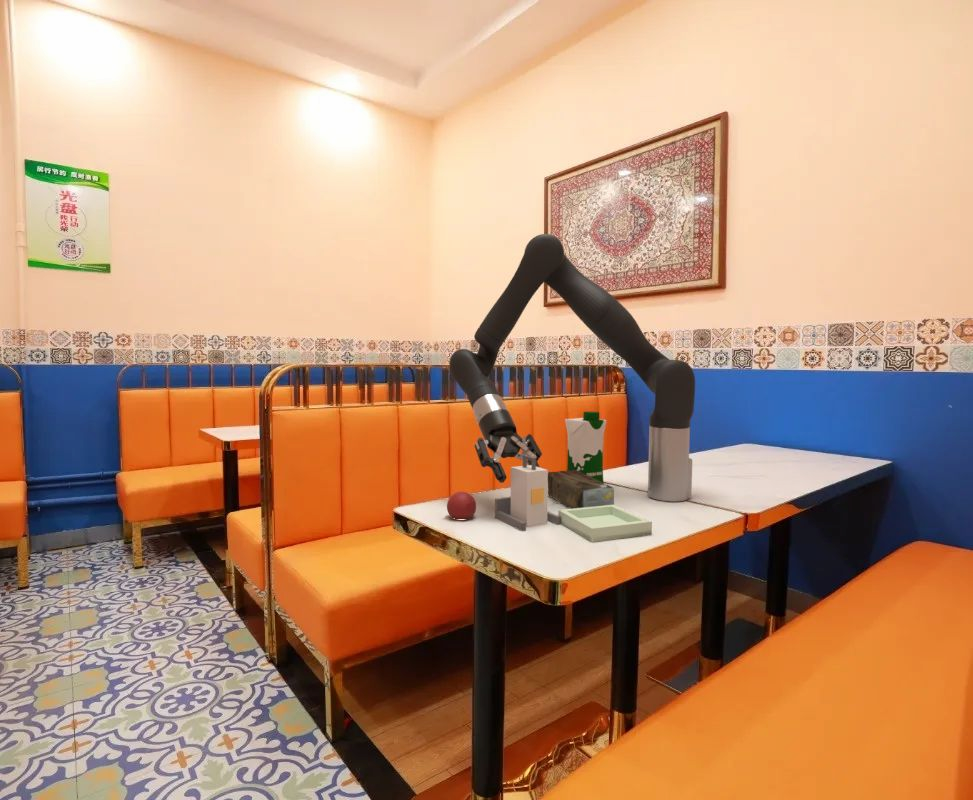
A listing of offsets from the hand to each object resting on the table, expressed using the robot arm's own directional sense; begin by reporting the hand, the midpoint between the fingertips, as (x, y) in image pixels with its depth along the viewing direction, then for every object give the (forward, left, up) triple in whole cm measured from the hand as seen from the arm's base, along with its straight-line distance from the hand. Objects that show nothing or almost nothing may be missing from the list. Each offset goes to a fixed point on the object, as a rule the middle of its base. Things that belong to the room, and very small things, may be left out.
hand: (521, 478), depth 111 cm
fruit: (+11, -3, -9) cm, 15 cm away
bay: (0, +3, -8) cm, 9 cm away
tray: (-12, +12, -8) cm, 19 cm away
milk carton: (-26, -20, -9) cm, 34 cm away
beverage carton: (-17, -6, -9) cm, 20 cm away
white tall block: (0, +3, -8) cm, 9 cm away
